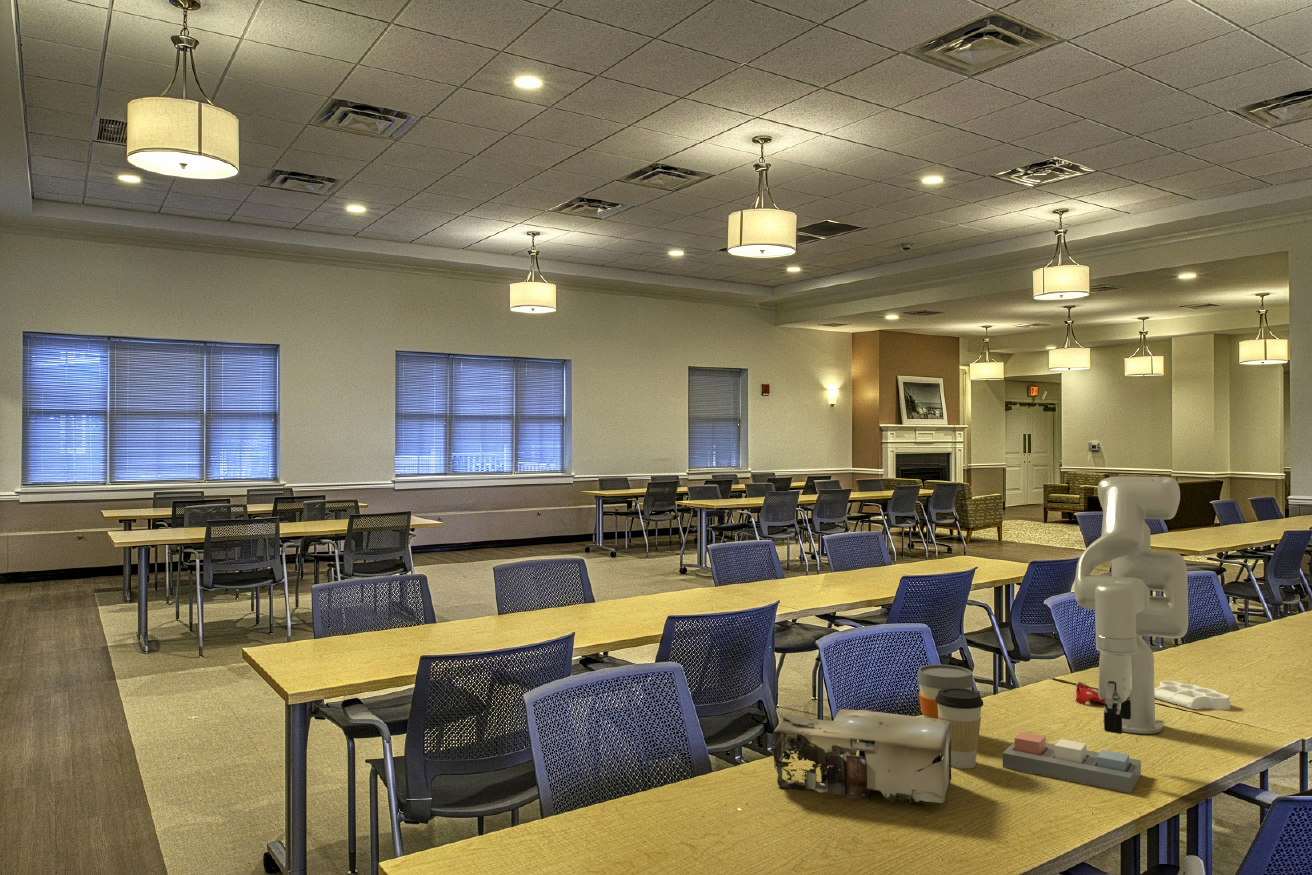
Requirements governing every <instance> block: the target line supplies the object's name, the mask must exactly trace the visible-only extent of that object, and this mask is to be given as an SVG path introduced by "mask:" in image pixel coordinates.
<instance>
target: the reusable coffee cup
mask: <svg viewBox="0 0 1312 875" xmlns="http://www.w3.org/2000/svg"><path fill="white" fill-rule="evenodd" d="M917 683H918V685H919V692H918V698H919V705H920V706H919V707H920V712H921V714H923V717H924V718H932V719H938V705H937V703H936V702H935V698H936V696H937V694H938V691H939V690H940V689H944V688H964V689H969V690H972V687H973V686H974V679H973V672H972V670H970V669H968V668H965V667H962V666H958V665H951V664H928V665H922V666H919V668H918V671H917Z"/></svg>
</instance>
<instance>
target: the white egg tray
mask: <svg viewBox="0 0 1312 875" xmlns="http://www.w3.org/2000/svg"><path fill="white" fill-rule="evenodd" d="M1155 698H1156V699H1155V700H1160V701H1163V702H1167V703H1169V702H1170V704H1172V705H1176V704H1177V705H1176V706H1180V707H1184V708H1188V709H1190V710H1193V709H1196V710H1201V709H1210V708H1211V710H1216V709H1217V711H1218V710H1219V711H1225V710H1230V709H1231V697H1230V695H1228V694H1225V693H1221V692H1218V691H1217V690H1215V689H1213V688H1207V687H1202V686H1200V685H1197V684H1192V683H1190V684H1189V683H1182V682H1180V681H1174V680H1162V681H1160V682H1159V686H1158V687H1155Z"/></svg>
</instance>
